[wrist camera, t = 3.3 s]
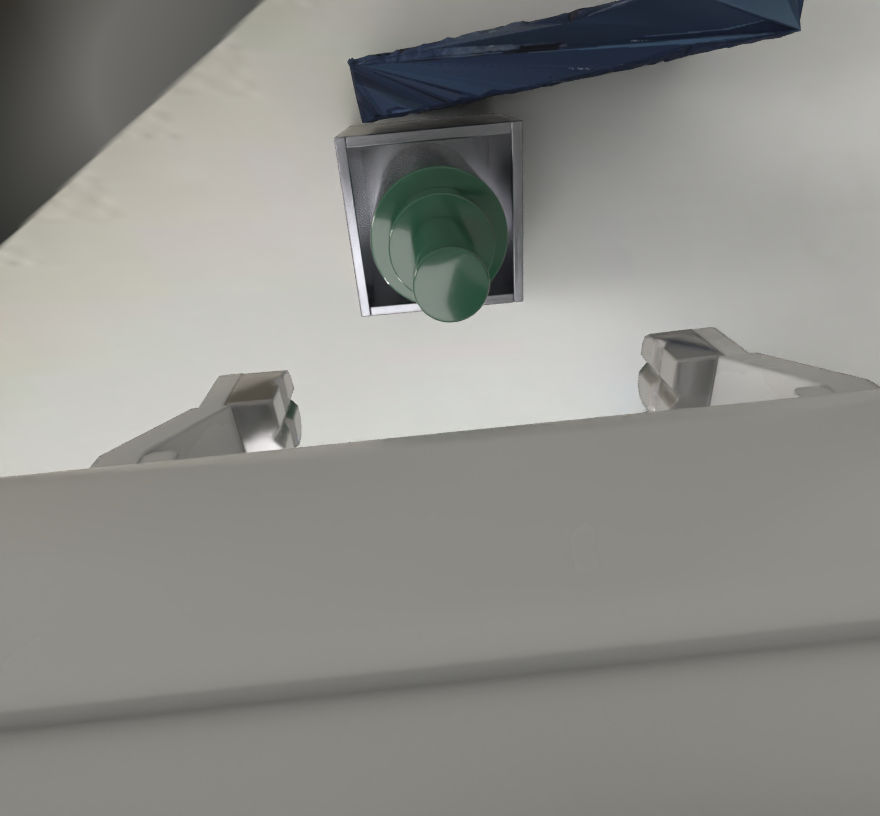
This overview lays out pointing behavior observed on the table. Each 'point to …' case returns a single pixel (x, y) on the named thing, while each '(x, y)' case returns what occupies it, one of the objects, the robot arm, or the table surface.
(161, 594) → the robot arm
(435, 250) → the bottle
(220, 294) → the table surface
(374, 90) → the vhs cassette tape
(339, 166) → the bin
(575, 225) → the table surface
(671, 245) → the table surface
